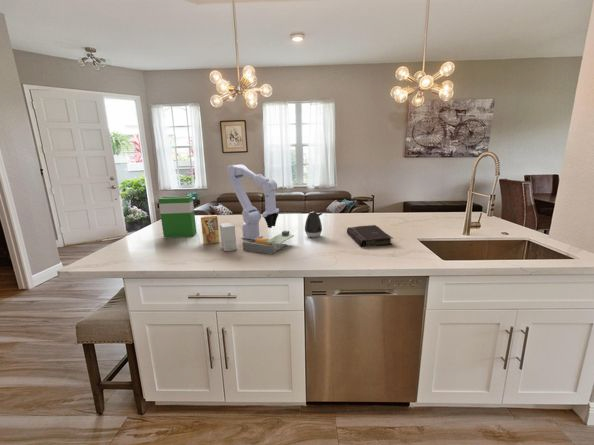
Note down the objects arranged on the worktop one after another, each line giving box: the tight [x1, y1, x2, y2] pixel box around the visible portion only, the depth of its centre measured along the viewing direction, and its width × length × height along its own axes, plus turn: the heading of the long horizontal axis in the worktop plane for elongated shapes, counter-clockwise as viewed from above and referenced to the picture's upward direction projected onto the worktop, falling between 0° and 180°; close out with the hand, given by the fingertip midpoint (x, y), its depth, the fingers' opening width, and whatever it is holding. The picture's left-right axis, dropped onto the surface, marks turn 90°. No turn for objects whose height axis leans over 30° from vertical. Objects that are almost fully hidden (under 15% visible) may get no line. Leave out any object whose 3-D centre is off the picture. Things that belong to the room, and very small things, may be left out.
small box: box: [219, 222, 237, 252], centre depth 154 cm, size 8×6×13 cm
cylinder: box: [254, 237, 272, 246], centre depth 158 cm, size 10×3×3 cm, turn 63°
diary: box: [346, 224, 394, 248], centre depth 164 cm, size 19×25×5 cm
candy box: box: [200, 214, 221, 245], centre depth 164 cm, size 9×4×15 cm, turn 110°
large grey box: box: [242, 241, 287, 255], centre depth 155 cm, size 18×15×4 cm
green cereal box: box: [157, 195, 198, 238], centre depth 178 cm, size 18×7×24 cm, turn 94°
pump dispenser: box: [304, 210, 323, 238], centre depth 171 cm, size 10×10×15 cm
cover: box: [266, 230, 295, 245], centre depth 154 cm, size 16×8×3 cm, turn 153°
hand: (271, 226), depth 163 cm, fingers open, 3 cm apart
